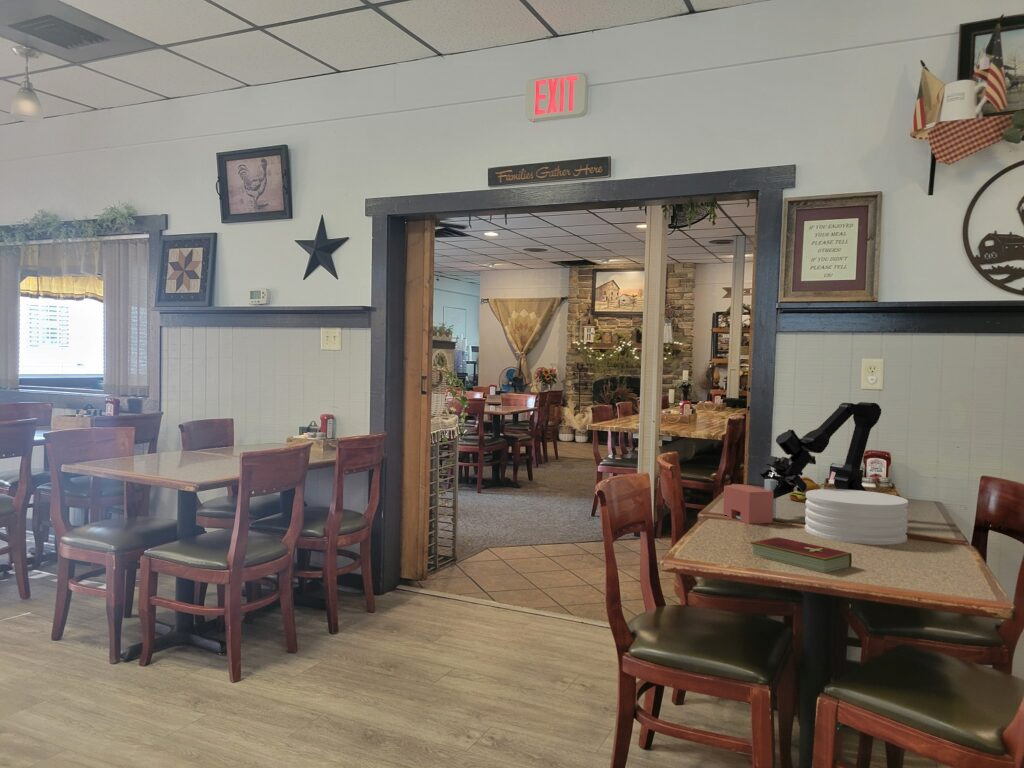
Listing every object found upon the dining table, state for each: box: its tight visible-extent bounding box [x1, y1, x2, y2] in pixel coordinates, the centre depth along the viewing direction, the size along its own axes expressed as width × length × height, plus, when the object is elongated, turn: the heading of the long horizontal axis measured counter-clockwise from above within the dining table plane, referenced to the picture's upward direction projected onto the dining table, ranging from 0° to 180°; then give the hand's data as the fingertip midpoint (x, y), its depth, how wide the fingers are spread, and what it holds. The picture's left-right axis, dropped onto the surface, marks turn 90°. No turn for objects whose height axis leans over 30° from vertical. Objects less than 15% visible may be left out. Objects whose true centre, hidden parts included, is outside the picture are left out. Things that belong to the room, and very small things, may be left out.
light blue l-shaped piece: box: [735, 479, 778, 520], centre depth 244 cm, size 13×3×12 cm, turn 108°
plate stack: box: [804, 488, 909, 546], centre depth 224 cm, size 28×28×12 cm
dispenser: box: [722, 484, 774, 525], centre depth 243 cm, size 10×14×10 cm
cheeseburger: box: [788, 476, 821, 503], centre depth 281 cm, size 10×11×10 cm
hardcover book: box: [750, 536, 853, 574], centre depth 189 cm, size 12×21×4 cm, turn 37°
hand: (766, 498), depth 245 cm, fingers closed on light blue l-shaped piece, 3 cm apart
